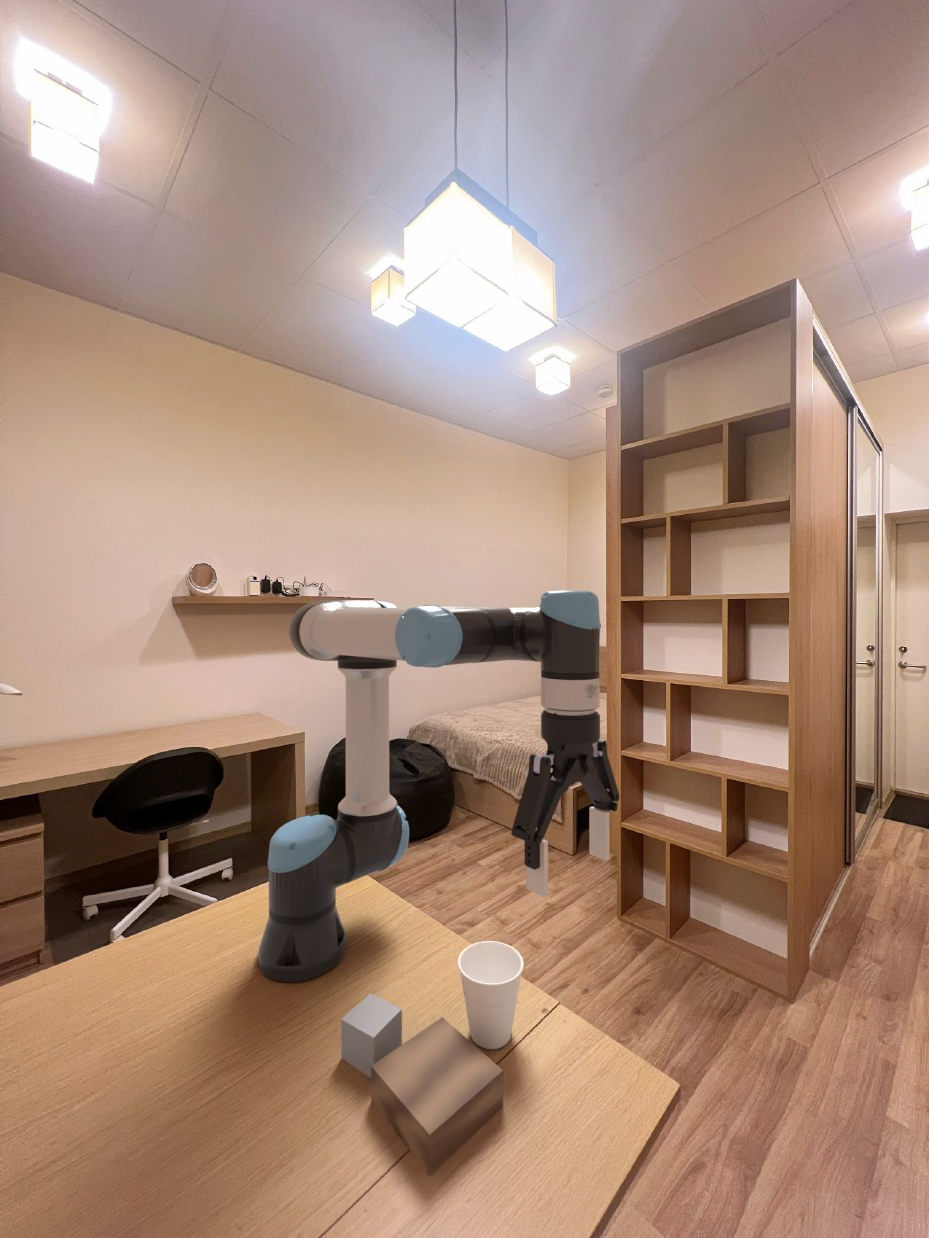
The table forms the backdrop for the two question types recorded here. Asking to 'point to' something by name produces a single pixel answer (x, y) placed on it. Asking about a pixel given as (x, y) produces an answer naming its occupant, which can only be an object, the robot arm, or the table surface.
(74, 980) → the table surface
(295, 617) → the robot arm
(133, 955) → the table surface
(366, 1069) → the grey cube
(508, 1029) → the cup
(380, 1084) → the walnut block
